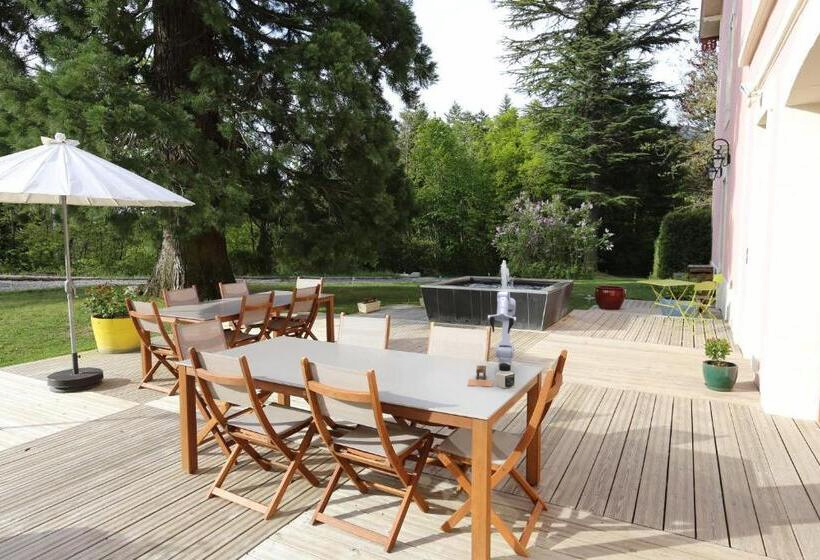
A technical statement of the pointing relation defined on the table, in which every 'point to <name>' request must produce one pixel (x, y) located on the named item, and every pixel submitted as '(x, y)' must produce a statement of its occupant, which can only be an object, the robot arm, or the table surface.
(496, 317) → the robot arm
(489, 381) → the terracotta tile
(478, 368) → the brown slotted block
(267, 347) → the table surface
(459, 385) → the table surface
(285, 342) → the table surface
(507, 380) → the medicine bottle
